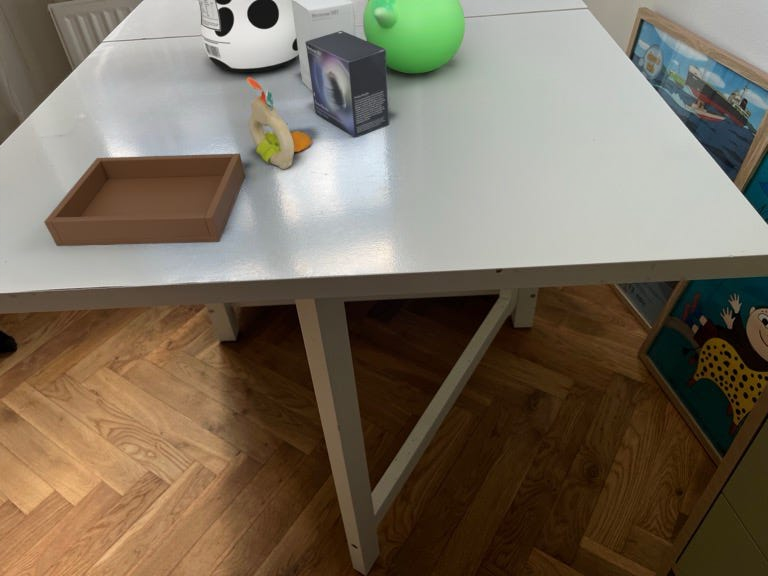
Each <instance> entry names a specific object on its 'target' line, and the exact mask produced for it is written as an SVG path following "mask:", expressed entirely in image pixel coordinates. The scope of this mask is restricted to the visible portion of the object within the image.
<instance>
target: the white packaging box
mask: <svg viewBox="0 0 768 576" xmlns="http://www.w3.org/2000/svg"><path fill="white" fill-rule="evenodd" d="M291 1H292V8H293V16H294V23H295V30H296V38H297V45H298V53H299V56H298V60H299V67H300V74H301V81H302V83H303V84H304V85H305V86H306V87H307V88H308V89H309V90H310V91H311V92H312V93H313V91H312V84H311V76H310V70H309V63H308V56H307V48H306V43H305V42H306V41H309V40H312V39H316V38H319V37H322V36H325V35H329V34H332V33H335V32H339V31H344V32H346V33H348V34H351V35H353V36H356V35H357V34H356V21H355V20H356V19H355V5H354V4H355V3H354V2H353V1H352V0H291ZM356 37H357V36H356Z"/></svg>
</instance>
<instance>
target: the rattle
mask: <svg viewBox="0 0 768 576" xmlns="http://www.w3.org/2000/svg"><path fill="white" fill-rule="evenodd" d="M246 81H247V83H248V85H250V86H251V87H252V88H253V89H255V90H258V91H260V92H261V95H259V96H257V97H255V98H254V99H253V100H252V102H251V112H252V113H251V115H250V117H249V120H248V121H249V122H248V129H249V133H250V138H251V139H252V142H253V145H255V147H256V150H255V152H256V153H257V154H258V155H259V156H260V157H261V159H262V160H263V161H264V162H266V163H267V164H268V165H270V164H271V165H273V166H276V167H278V168H280V169H282V170H287V169H288V168H290V167H291V166H292V165H293V158H294V156H295V153H299V152H301V151H304V150H306V149H308V148H309V147H310V146H311V144H312V138H311V136H310V135H308V134H307V133H304V132H302V131H300V130H296V131H292V132H290V129H289V127H288V126H287V123H286V122H285V121H284V120H283V119H282V118H281V116H280V115H279V114H278V112H277V110H276V108H275V106H274V100H273V96H272V95H273V94H272V91H271V90H270V89H269V88H267V89H266V92H265V91H264V90H263V88H262V86H261V85H260V84H259V83H258V82H257V81H256V80H255V79H253V78H252V77H250V76H249V77H247V78H246ZM264 126H265V127H269V128H270V129H271V130H272V131H273V132H270V131H268V130H267V131H266V132H265V131H264Z"/></svg>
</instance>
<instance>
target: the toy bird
mask: <svg viewBox="0 0 768 576" xmlns="http://www.w3.org/2000/svg"><path fill="white" fill-rule="evenodd" d="M362 16H363V17H362V26H363V33H364V37H365V41H368V42H370V43H373V44H375V45H377V46H380V47H382V48H385V49H386V67H388V68H389V69H390V70H391V69H392V70H394V71H397V72H400V73H405V74H423V73H427V72H432V71H434V70H436V69H439V68H440V67H442V66H444V65H445V64H447V63H448V62H449V61H450V60H452V58H454V56H455V55H456V54H457V53H458V51H459V49H460V48H461V45H462V43H463V41H464V38H465V37H464V36H465V31H466V20H465V19H466V18H465V13H464V10H463V6H462V4H461V1H460V0H367V1H366V4H365V6H364V11H363V15H362Z"/></svg>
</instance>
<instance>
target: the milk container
mask: <svg viewBox="0 0 768 576" xmlns="http://www.w3.org/2000/svg"><path fill="white" fill-rule="evenodd" d="M198 4H199V11H200V35H201V41H202V44H203V48H204V50H205V52H206V55H207V57H208V59H209V60H210V62H212V64H214V65H215V66H216V67H218V68H220V69H223V70H226V71H229V72H238V73H253V72H254V73H256V72H257V73H258V72H264V71H270V70H274V69H278V68H281V67H283V66H286V65H288V64H290V63H292V62H293V61H296V60H297V58H299V53H298V45H297V38H296V30H295V23H294V16H293V8H292V1H291V0H198Z"/></svg>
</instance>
